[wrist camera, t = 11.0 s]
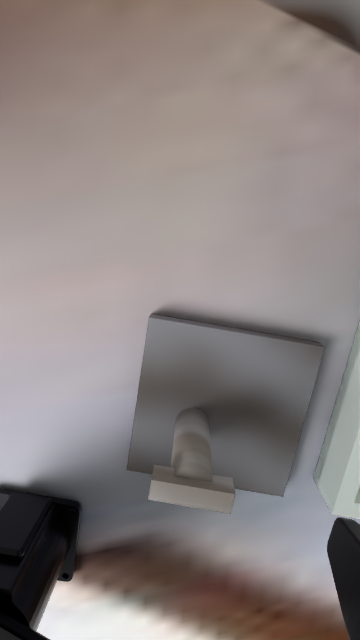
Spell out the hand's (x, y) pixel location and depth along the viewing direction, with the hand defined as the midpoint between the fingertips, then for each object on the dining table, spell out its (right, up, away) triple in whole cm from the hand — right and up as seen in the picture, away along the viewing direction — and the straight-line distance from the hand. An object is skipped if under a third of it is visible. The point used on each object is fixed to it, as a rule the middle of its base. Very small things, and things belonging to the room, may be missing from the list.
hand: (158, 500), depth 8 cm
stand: (+3, -1, +12) cm, 13 cm away
